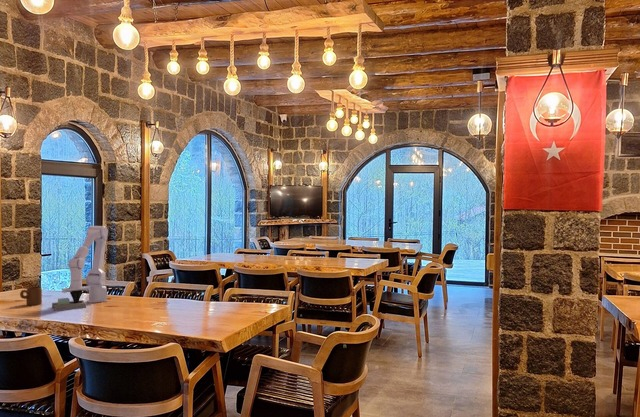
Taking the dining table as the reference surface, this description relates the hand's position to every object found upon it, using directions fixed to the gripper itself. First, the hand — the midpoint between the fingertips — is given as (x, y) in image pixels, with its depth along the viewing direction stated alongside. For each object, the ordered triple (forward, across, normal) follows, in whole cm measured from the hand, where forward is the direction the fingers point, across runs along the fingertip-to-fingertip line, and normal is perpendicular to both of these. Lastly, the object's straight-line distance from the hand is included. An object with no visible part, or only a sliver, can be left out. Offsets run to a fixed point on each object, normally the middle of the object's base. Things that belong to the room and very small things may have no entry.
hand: (76, 304), depth 296 cm
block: (+1, +6, -2) cm, 6 cm away
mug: (+2, +16, -22) cm, 27 cm away
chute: (+1, +4, -1) cm, 5 cm away
